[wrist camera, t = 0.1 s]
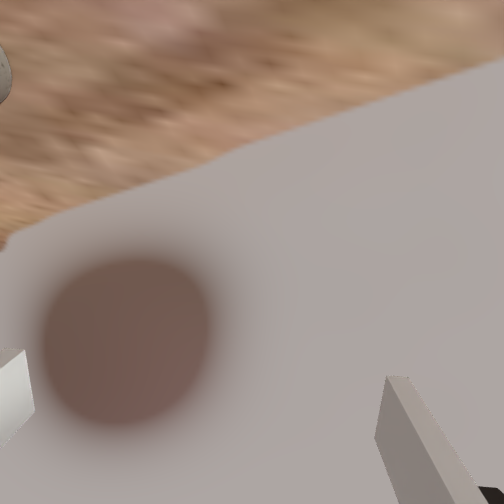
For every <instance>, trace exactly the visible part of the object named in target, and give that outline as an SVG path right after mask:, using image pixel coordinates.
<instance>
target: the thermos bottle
mask: <svg viewBox="0 0 504 504" xmlns="http://www.w3.org/2000/svg"><path fill="white" fill-rule="evenodd" d="M11 84H12V75H11V69H10V65H9V62H8V59H7V57H6V55H5V53H4V51H3V49H2V48H1V46H0V102H2V101H3V100H4V99H5V98H6V97H7V95H8V94H9V92H10V89H11Z"/></svg>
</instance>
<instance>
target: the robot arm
mask: <svg viewBox="0 0 504 504" xmlns="http://www.w3.org/2000/svg"><path fill="white" fill-rule="evenodd" d="M34 412H35V408H34V402H33V396H32V390H31V384H30V378H29V372H28V366H27V360H26V355H25V350H22V349H7V348H4V349H3V350H1V351H0V449H1V448H2V447H3V446H4V445H5V444H6V443H7V442H8V440H9V439H10V438H11V437H12V436H13V435H14V434H15V433H16V431H18V429H19V428H20V427H21V426H22V425H23V424H24V423H25V422H26V421H27V420H28V419H29V418H30V416H31V415H32V414H33V413H34ZM375 441H376V443H377V446H378V449H379V451H380V454H381V457H382V459H383V462H384V464H385V467H386V470H387V472H388V475H389V478H390V481H391V483H392V485H393V489H394V491H395V494H396V497H397V499H398V502H399V504H504V494H503V493H502V492H501V491H500V490H499V489H498V488H491V487H478V486H477V485H476V483H475V482H474V480H473V478H472V477H471V475H470V474H469V472H468V471H467V469H466V468H465V466H464V464H463V463H462V461H461V460H460V458H459V456H458V455H457V453H456V452H455V450H454V448H453V447H452V445H451V444H450V442H449V441H448V439H447V437H446V436H445V434H444V433H443V431H442V430H441V428H440V426H439V425H438V423H437V422H436V420H435V419H434V417H433V415H432V414H431V412H430V411H429V409H428V407H427V406H426V404H425V403H424V401H423V400H422V398H421V396H420V395H419V393H418V392H417V390H416V389H415V387H414V385H413V384H412V382H411V381H410V379H409V378H408V377H398V376H386V380H385V385H384V391H383V396H382V401H381V406H380V412H379V417H378V422H377V427H376V432H375Z"/></svg>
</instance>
